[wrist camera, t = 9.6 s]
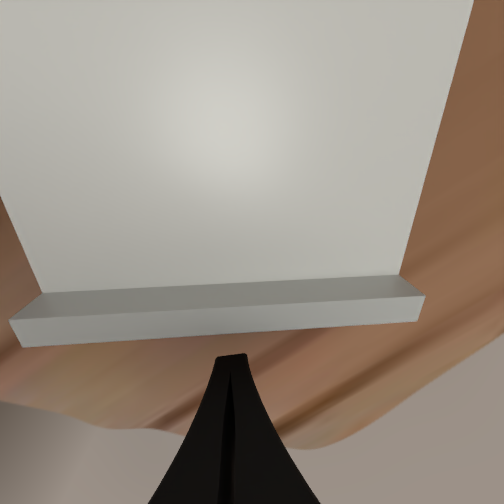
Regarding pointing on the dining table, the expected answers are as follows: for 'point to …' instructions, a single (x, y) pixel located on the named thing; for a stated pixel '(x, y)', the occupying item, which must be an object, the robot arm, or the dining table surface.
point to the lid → (218, 160)
